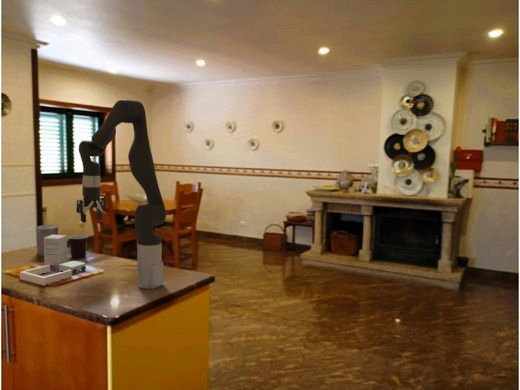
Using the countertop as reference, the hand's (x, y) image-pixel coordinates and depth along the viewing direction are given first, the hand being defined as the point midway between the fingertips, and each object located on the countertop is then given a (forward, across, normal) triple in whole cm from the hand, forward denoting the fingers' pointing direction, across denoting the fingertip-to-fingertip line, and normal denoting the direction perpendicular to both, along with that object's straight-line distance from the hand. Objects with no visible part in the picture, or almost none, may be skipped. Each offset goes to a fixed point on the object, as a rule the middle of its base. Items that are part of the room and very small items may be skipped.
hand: (91, 221), depth 186 cm
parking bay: (+21, -23, +1) cm, 31 cm away
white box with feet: (+21, -10, +1) cm, 23 cm away
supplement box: (+21, -6, +17) cm, 28 cm away
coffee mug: (+21, +8, +18) cm, 29 cm away
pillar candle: (+22, +4, +35) cm, 41 cm away
